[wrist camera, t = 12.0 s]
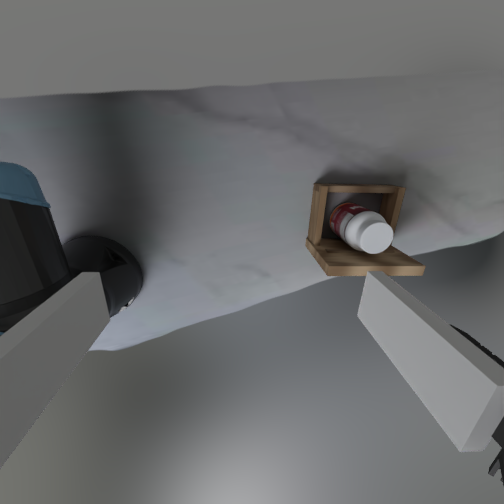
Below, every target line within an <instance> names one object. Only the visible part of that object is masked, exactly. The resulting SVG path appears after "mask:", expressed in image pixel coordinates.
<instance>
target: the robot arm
mask: <svg viewBox="0 0 504 504" xmlns="http://www.w3.org/2000/svg"><path fill="white" fill-rule="evenodd" d="M49 208H51V207H50V204H49V203H47V202H46V200H45V197H44V195H43V193H42V190H41V188H40V185H39V183H38V181H37V179H36V177H35V175H34V174H33V173H32V172H31V171H29V170H28V169H27V168H25V167H23V166H21V165H18V164H14V163H8V162H0V468H1V467H2V466H3V464H4V463H5V462H6V460H7V459H8V458H9V456H10V455H11V454H12V452H13V451H14V450H15V448H16V447H17V446H18V444H19V443H20V442H21V440H22V439H23V437H24V436H25V435H26V433H27V432H28V431H29V429H30V428H31V427H32V425H33V424H34V423H35V421H36V420H37V419H38V417H39V416H40V414H41V413H42V412H43V410H44V409H45V408H46V406H47V405H48V404H49V402H50V401H51V400H52V398H53V397H54V396H55V394H56V393H57V392H58V390H59V389H60V388H61V386H62V385H63V384H64V382H65V381H66V379H67V378H68V377H69V375H70V374H71V373H72V371H73V370H74V369H75V367H76V366H77V364H78V363H79V362H80V361H81V359H82V358H83V357H84V355H85V354H86V352H87V351H88V350H89V348H90V347H91V346H92V344H93V343H94V342H95V340H96V339H97V338H98V336H99V335H100V334H101V332H102V331H103V330H104V328H105V327H106V325H107V324H108V323H109V321H110V317H112V316H114V315H116V314H117V313H119V312H121V311H123V310H124V309H126V308H127V307H128V306H129V305H130V304H131V303H132V302H133V301H134V300H135V298H136V297H137V295H138V294H139V292H140V290H141V287H142V272H141V269H140V266H139V264H138V262H137V261H136V259H135V258H134V256H133V255H132V254H131V253H130V252H129V251H128V250H127V249H126V248H124V247H123V246H122V245H120V244H118V243H116V242H115V241H112V240H110V239H107V238H103V237H98V236H84V237H79V238H76V239H73V240H71V241H69V242H68V243H66V244H64V245H61V242H60V239H59V236H58V233H57V230H56V227H55V224H54V221H53V218H52V215H51V212H50V209H49ZM357 316H358V318H359V319H360V320H361V322H362V323H363V324H364V326H365V327H366V328H367V329H368V331H369V332H370V333H371V335H372V336H373V337H374V339H375V340H376V341H377V343H378V344H379V345H380V347H381V348H382V349H383V351H384V352H385V353H386V354H387V356H388V357H389V358H390V360H391V361H392V362H393V364H394V365H395V366H396V368H397V369H398V370H399V372H400V373H401V374H402V376H403V377H404V378H405V380H406V381H407V382H408V384H409V385H410V386H411V388H412V389H413V390H414V392H415V393H416V394H417V396H418V397H419V398H420V399H421V401H422V402H423V403H424V405H425V406H426V407H427V409H428V410H429V411H430V413H431V414H432V415H433V417H434V418H435V419H436V421H437V422H438V423H439V425H440V426H441V427H442V428H443V430H444V431H445V433H446V434H447V435H448V436H449V438H450V439H451V440H452V442H453V443H454V444H455V446H456V447H457V448H458V450H459V451H460V452H467V451H484V449H485V448H486V446H487V445H488V443H489V441H490V440H491V438H492V437H493V438H494V440H495V441H496V442H497V443H498V444H499V445H500V446H501V447H502V449H501V451H500V452H499V454H498V455H497V457H496V458H495V460H494V461H493V463H492V464H491V466H490V467H489V472H488V474H490V475H492V476H494V475H495V473H496V471H497V470H498V469H501V474H502V478H501V481H502V482H503V485H504V362H503V361H502V360H501V359H499V358H498V357H497V356H496V355H492V352H490V351H489V350H488V349H487V348H485V347H484V346H481V345H480V343H479V342H477V341H476V340H475V339H474V338H472V337H471V336H470V335H468V334H467V333H465V332H464V331H462V330H460V329H458V328H456V327H454V326H452V325H449V324H448V323H446V322H445V321H444V320H443V319H441V318H440V317H439V316H438V315H436V314H435V313H434V312H433V311H431V310H430V309H429V308H428V307H426V306H425V305H424V304H422V303H421V302H420V301H419V300H418V299H416V298H415V297H414V296H412V295H411V294H410V293H409V292H407V291H406V290H405V289H404V288H402V287H401V286H400V285H399V284H397V283H396V282H395V281H394V280H392V279H391V278H390V277H389V276H387V275H386V274H385V273H384V272H382V271H367V276H366V280H365V284H364V289H363V293H362V297H361V302H360V306H359V310H358V315H357Z"/></svg>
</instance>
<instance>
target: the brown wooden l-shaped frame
mask: <svg viewBox="0 0 504 504" xmlns="http://www.w3.org/2000/svg"><path fill="white" fill-rule="evenodd" d="M405 189H406V188H404V187H399V186H394V185H373V184H321V183H314V188H313V197H312V205H311V214H310V223H309V231H308V238H306V247H307V249H308V250H309V251H310V253H311V254H312V256H313V257H314V258H315V260H316V261H317V262H318V264H319V265H320V266H321V268H322V269H323V271H324V272H325V273H326V275H327V276H367V271H382V272H384V273H385V274H386V275H387V276H413V275H414V276H422V275H423V272H424V269H425V266H424V265H423V264H421V263H419V262H418V261H416V260H414V259H413V258H411V257H409V256H408V255H406V254H404V253H403V252H401V251H399V250H398V249H396V248H394V247H393V246H391V244H392V242H391V244H390V245H389V247H388V248H387V249H385V250H384V251H382V252H380V253H377V254H370V253H367V252H365V251H358V250H355V249H354V248H352V247H351V246H349V245H348V244H347V243H346V242H345V241H343V240H342V239H341V238H321V234H322V226H323V219H324V212H325V205H326V197H327V192H347V193H383V198H382V202H381V207H380V211H379V214H380V215H381V216H382V217H383V218H384V219H385V221H386V223H387V224H388V225H390V227H391V228H392V230H393V236H394V232H395V228H396V225H397V221H398V217H399V213H400V209H401V205H402V201H403V197H404V193H405Z"/></svg>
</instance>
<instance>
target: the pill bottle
mask: <svg viewBox="0 0 504 504" xmlns="http://www.w3.org/2000/svg"><path fill="white" fill-rule="evenodd" d="M329 223H330V227H331V229H332V231H333V232H334V233H335V234H336V235H337V236H339V237H340V238H341V239H342V240H343V241H345V242H346V243H347V244H348V245H349V246H351V247H352V248H354V249H355V250H358V251H365V252H367V253H370V254H377V253H380V252H382V251H384V250H385V249H387V248H388V247H389V245H390V244H391V242H392V240H393V230H392V228H391V227H390V225H388V224H387V223H386V221H385V219H384V218H383V217H382V216H381V215H380V214H378V213H376V212H374V211H371V210H369V209H366V208H364V207H362V206H359V205H357V204H355V203H343V204H341V205H339V206H337V207H336V208H335V209H334V210H333V212H332V213H331V216H330V220H329Z"/></svg>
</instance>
